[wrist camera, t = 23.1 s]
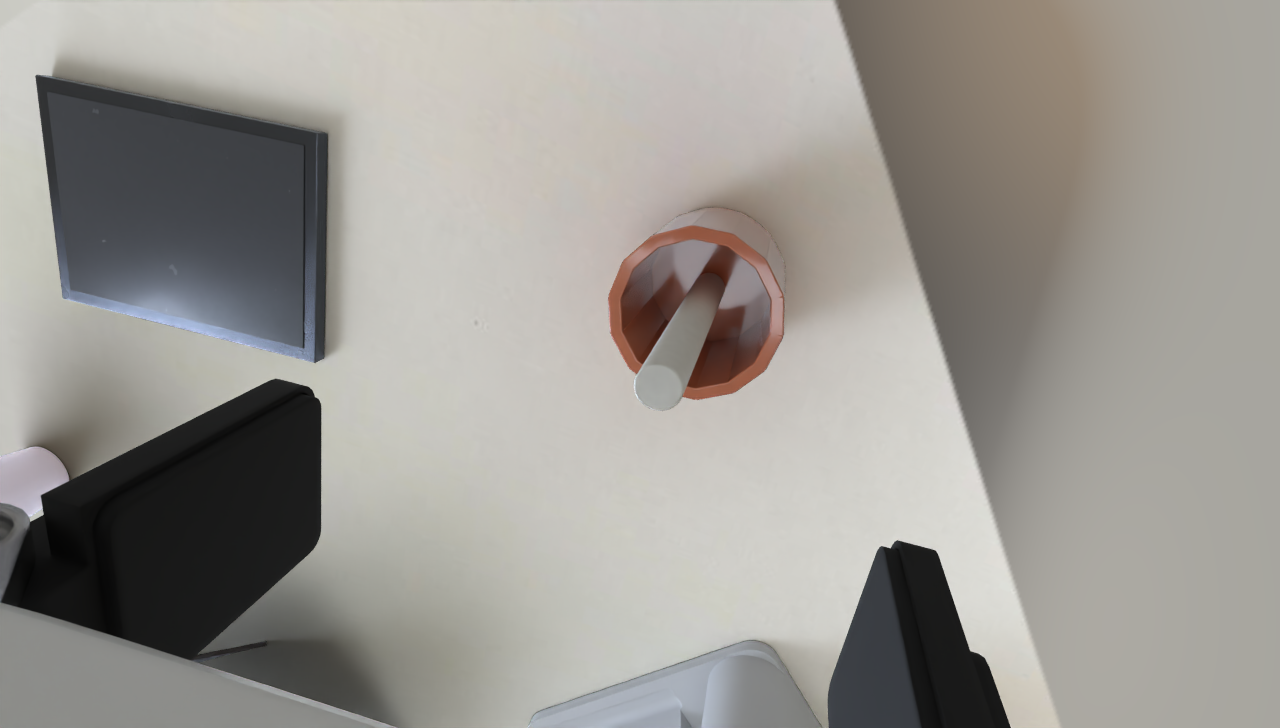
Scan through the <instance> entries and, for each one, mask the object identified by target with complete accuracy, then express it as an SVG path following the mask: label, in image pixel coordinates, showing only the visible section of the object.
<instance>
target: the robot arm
mask: <svg viewBox="0 0 1280 728" xmlns="http://www.w3.org/2000/svg"><path fill="white" fill-rule="evenodd" d="M41 501H42V507H43V512H44V515H43V516H41V517H39V518H37V519H35V520H33V521H31V522H30V519H29V516H28V515H27V514H26V513H25V511H24V510H23V509H21V508H18V507H16V506H13V505H11V504H5V503H0V728H397V727H394V726H391V725H388V724H385V723H382V722H379V721H376V720H373V719H370V718H367V717H364V716H361V715H357V714H354V713H351V712H348V711H345V710H342V709H339V708H336V707H333V706H330V705H327V704H324V703H321V702H318V701H315V700H311V699H308V698H305V697H302V696H299V695H296V694H293V693H290V692H287V691H284V690H281V689H278V688H275V687H272V686H268V685H265V684H262V683H259V682H256V681H253V680H250V679H247V678H243V677H240V676H237V675H234V674H231V673H228V672H225V671H221V670H218V669H215V668H212V667H209V666H206V665H203V664H200V663H196V662H193V661H190V660H191V659H192V658H194V657H195V656H196V655H197V654H198V653H199V652H200V651H201V650H202V649H204V648H205V647H206V646H207V645H208V644H209V643H210V642H211V641H212V640H214V639H215V638H216V637H217V636H218V635H219V634H220V633H221V632H223V631H224V630H225V629H226V628H227V627H228V626H229V625H230V624H231V623H233V622H234V621H235V620H236V619H237V618H238V617H239V616H240V615H241V614H243V613H244V612H245V611H246V610H247V609H248V608H249V607H250V606H251V605H253V604H254V603H255V602H256V601H257V600H258V599H259V598H260V597H262V596H263V595H264V594H265V593H266V592H267V591H268V590H269V589H270V588H272V587H273V586H274V585H275V584H276V583H277V582H278V581H279V580H280V579H282V578H283V577H284V576H285V575H286V574H287V573H288V572H289V571H290V570H292V569H293V568H294V567H295V566H296V565H297V564H298V563H299V562H300V561H302V560H303V559H304V558H305V557H306V556H307V555H308V554H309V553H310V552H311V551H312V550H313V549H314V548H315V546H316V544H317V542H318V540H319V537H320V534H321V403H320V401H319V399H317V398H315V396H314V393H313V391H312V389H310V388H309V387H307V386H303V385H299V384H295V383H292V382H288V381H284V380H280V379H273V380H270V381H268V382H266V383H264V384H262V385H260V386H258V387H256V388H254V389H252V390H250V391H248V392H246V393H244V394H242V395H240V396H238V397H236V398H234V399H232V400H230V401H228V402H226V403H224V404H222V405H220V406H218V407H216V408H214V409H212V410H210V411H208V412H206V413H204V414H202V415H200V416H198V417H196V418H194V419H192V420H190V421H188V422H186V423H184V424H182V425H180V426H178V427H176V428H174V429H172V430H170V431H168V432H166V433H164V434H162V435H160V436H158V437H156V438H154V439H152V440H150V441H148V442H146V443H144V444H142V445H140V446H138V447H136V448H134V449H132V450H130V451H128V452H126V453H124V454H122V455H120V456H118V457H116V458H114V459H112V460H110V461H108V462H106V463H104V464H102V465H100V466H98V467H96V468H94V469H92V470H90V471H88V472H86V473H84V474H82V475H80V476H78V477H76V478H74V479H72V480H70V481H68V482H66V483H64V484H62V485H60V486H58V487H56V488H54V489H52V490H50V491H48V492H46V493H44V494H42V495H41ZM828 720H829V728H1011V727H1010V724H1009V721H1008V719H1007V716H1006V713H1005V710H1004V707H1003V704H1002V702H1001V699H1000V696H999V693H998V690H997V688H996V685H995V682H994V679H993V676H992V674H991V671H990V668H989V666H988V664H987V662H986V660H985V658H984V657H982V656H981V655H980V654H977V653H974V652H970V650H969V647H968V644H967V641H966V638H965V635H964V632H963V628H962V625H961V622H960V619H959V616H958V613H957V610H956V607H955V604H954V601H953V598H952V595H951V592H950V589H949V586H948V583H947V580H946V577H945V574H944V571H943V568H942V565H941V562H940V559H939V556H938V554H937V552H936V551H935V550H932V549H928V548H925V547H921V546H917V545H913V544H909V543H905V542H902V541H898V540H897V541H896V542H894V544H893V545H892V547H891V548H887V547H883V546H881V547H880V548H879V549H878V551H877V553H876V556H875V558H874V561H873V564H872V567H871V570H870V572H869V575H868V578H867V581H866V584H865V586H864V589H863V592H862V595H861V597H860V600H859V603H858V606H857V609H856V611H855V614H854V617H853V620H852V623H851V625H850V628H849V631H848V634H847V637H846V639H845V642H844V645H843V648H842V651H841V653H840V656H839V659H838V662H837V665H836V667H835V670H834V673H833V676H832V679H831V682H830V687H829V693H828Z"/></svg>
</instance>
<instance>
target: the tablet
mask: <svg viewBox="0 0 1280 728" xmlns="http://www.w3.org/2000/svg"><path fill="white" fill-rule="evenodd" d="M36 84H37V92H38V101H39V109H40V117H41V125H42V133H43V141H44V149H45V157H46V166H47V174H48V182H49V190H50V198H51V206H52V214H53V222H54V231H55V239H56V247H57V255H58V263H59V271H60V279H61V287H62V296H63V299H67V300H71V301H75V302H79V303H83V304H87V305H90V306H94V307H98V308H102V309H106V310H110V311H114V312H118V313H122V314H126V315H130V316H134V317H138V318H141V319H145V320H149V321H153V322H157V323H161V324H165V325H169V326H173V327H177V328H181V329H185V330H189V331H193V332H196V333H200V334H204V335H208V336H212V337H216V338H220V339H224V340H228V341H232V342H236V343H240V344H244V345H247V346H251V347H255V348H259V349H263V350H267V351H271V352H275V353H279V354H283V355H287V356H291V357H295V358H298V359H302V360H306V361H310V362H314V363H316V362H318V361H320V360H322V359H324V323H325V256H326V189H327V133H324V132H319V131H315V130H310V129H305V128H300V127H295V126H290V125H285V124H281V123H276V122H271V121H266V120H261V119H256V118H252V117H247V116H242V115H237V114H232V113H227V112H222V111H218V110H213V109H208V108H203V107H198V106H193V105H189V104H184V103H179V102H174V101H169V100H164V99H159V98H155V97H150V96H145V95H140V94H135V93H130V92H126V91H121V90H116V89H111V88H106V87H101V86H96V85H92V84H87V83H82V82H77V81H72V80H67V79H62V78H58V77H53V76H44V75H36Z"/></svg>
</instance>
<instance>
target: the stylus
mask: <svg viewBox="0 0 1280 728" xmlns="http://www.w3.org/2000/svg"><path fill="white" fill-rule="evenodd" d="M724 291H725V285H724V282H723V280H722V279H721V278H720V277H719V276H718V275H716V274H714V273H704V274H702V275H700V276H699V277H698V278H697V279H696V281H695V282H694V284H693V285H692V287H691V289H690V290H689V292H688V293H687V295H686V297H685V298H684V300H683V301H682V303H681V305H680V306H679V308H678V309H677V311H676V313H675V314H674V316H673V317H672V319H671V321H670V322H669V324H668V325H667V327H666V329H665V330H664V332H663V333H662V335H661V337H660V338H659V340H658V341H657V343H656V345H655V346H654V348H653V349H652V351H651V353H650V354H649V356H648V357H647V359H646V361H645V362H644V364H643V365H642V367H641V368H640V370H639V372H638V373H637V375H636V377H635V380H634V390H635V394H636V396H637V398H638V399H639V400H640V402H641V403H642V404H643V405H645V406H646V407H648V408H650V409H653V410H658V411H663V410H668V409H671V408H673V407H674V406H676V405H677V404H678V403H679V402H680V400H681V398H682V396H683V394H684V391H685V389H686V386H687V384H688V381H689V379H690V376H691V374H692V371H693V369H694V366H695V364H696V362H697V359H698V357H699V354H700V352H701V349H702V347H703V344H704V342H705V339H706V337H707V334H708V332H709V329H710V327H711V324H712V322H713V319H714V317H715V314H716V312H717V309H718V307H719V304H720V302H721V299H722V297H723V294H724Z"/></svg>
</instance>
